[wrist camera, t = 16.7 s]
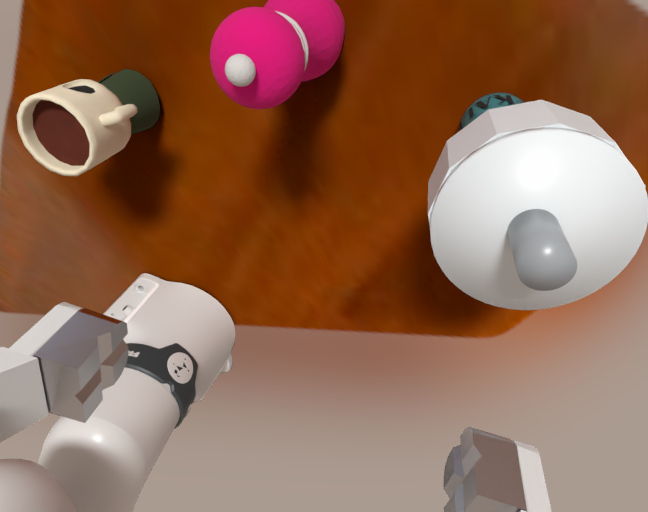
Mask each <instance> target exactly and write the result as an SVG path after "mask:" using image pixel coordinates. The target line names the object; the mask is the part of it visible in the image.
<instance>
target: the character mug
mask: <svg viewBox="0 0 648 512" xmlns="http://www.w3.org/2000/svg"><path fill="white" fill-rule="evenodd" d="M114 73H115V72H114ZM112 74H113V73H112ZM112 74H110V75H108V76H107V77H105V78H103V79H102V80H100V81H99V82H98V83H97V82H95V81H92V80H87V79H80V80H75V81H72V82H68V83H65V84H62V85H59V86H56V87H54V88H51V89H48V90H45V91H42V92H39V93H36V94H34V95H31V96H29V97H27V98H26V99H25V100H24V101H23V102H22V103H21V104H20V107H19V110H18V113H17V123H18V131H19V134H20V136H21V139H22V141H23V144H24V146H25V147H26V149H27V150H28V151H29V152H30V154H31V155H32V156H33V157H34V159H35V160H36V161H38V162H39V163H40V164H42V165H43V166H44V167H46V168H47V169H48V170H50V171H53V172H55V173H58V174H60V175H63V176H78V175H80V174H82V173H84V172H86V171H87V170H89V169H91V168H93V167H94V166H96V165H98V164H99V163H101V162H103V161H104V160H106V159H108V158H109V157H111V156H112V155H114V154H116V153H117V152H119V151H121V150H122V149H123V148H124V147H125V146H126V144H127V143H128V141H129V139H130V137H131V134H135V133H138V132H141V131H144V130H146V129H149V128H151V127H153V125H154V124H155V123H156V122H157V121H158V120H159V114H160V104H159V100H158V95H157V93H156V91H155V89H154V87H153V85H152V84H151V82H150V80H148V79H147V78H146V77H144V76H143V75H142V74H140V73H139V72H137V71H133V70H129V69H124V70H122V71H120V72H118V73H116V74H114V75H112Z"/></svg>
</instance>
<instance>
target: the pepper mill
mask: <svg viewBox="0 0 648 512" xmlns="http://www.w3.org/2000/svg"><path fill="white" fill-rule="evenodd" d="M344 36H345V22H344V18H343V15H342V12H341V10H340V8H339V6H338V5H337V4H336V2H335V1H334V0H269V1H268V2H267V3H266V4H265V6H264V7H263V8H261V7H247V8H244V9H241V10H238V11H236V12H234V13H232V14H231V15H229V16H228V17H227V18H226V19H225V20H223V22H222V23H221V24H220V25H219V27H218V28H217V30H216V32H215V34H214V37H213V40H212V43H211V49H210V62H211V67H212V71H213V74H214V77H215V79H216V81H217V83H218V85H219V86H220V88H221V89H222V90H223V91H224V93H225V94H226V95H227V96H228V97H230V98H231V99H232V100H233V101H235V102H237V103H238V104H240V105H243V106H245V107H249V108H253V109H266V108H271V107H275V106H277V105H279V104H281V103H283V102H284V101H286V100H287V99H289V98H290V97H291V96H292V94H293V93H294V92H295V91H296V90H297V88H298V86H299V85H300V83H301V81H308V80H312V79H315V78H317V77H319V76H321V75H323V74H324V73H326V72H327V71H328V70H329V69H330V68H331V67H332V66H333V65H334V64H335V62H336V60H337V59H338V57H339V54H340V52H341V49H342V45H343V40H344Z"/></svg>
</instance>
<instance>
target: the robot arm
mask: <svg viewBox="0 0 648 512" xmlns="http://www.w3.org/2000/svg"><path fill="white" fill-rule="evenodd" d="M235 338H236V332H235V327H234V323H233V321H232V319H231V317H230V315H229V313H228V312H227V311H226V309H225V308H224V307H223V306H222V305H221V304H220V303H219V302H218V301H217V300H216V299H215V298H213V297H212V296H211V295H209V294H208V293H206V292H204V291H203V290H201V289H198V288H196V287H194V286H191V285H187V284H183V283H177V282H169V281H164V280H162V279H160V278H158V277H156V276H153V275H151V274H147V273H144V274H141V275H140V276H139V277H138V278H137V279H136V280H135V281H134V282H133V283H132V284H131V285H130V286H129V287H128V288H127V290H126V291H125V292H124V293H123V294H122V295H121V296H120V297H119V298H118V299H117V300H116V301H115V302H114V303H113V304H112V305H111V306H110V307H109V308H108V309H107V310H106V311H105V312H104V313H103V314H100V313H97V312H94V311H91V310H88V309H85V308H82V307H79V306H76V305H72V304H69V303H66V302H63V303H60V304H58V305H56V306H55V307H54V308H53V309H52V310H51V311H49V312H48V313H47V314H46V315H45V316H44V317H43V318H42V319H41V320H40V321H39V322H37V324H35V325H34V326H33V327H32V328H31V329H30V330H29V331H28V332H27V333H25V334H24V335H23V336H22V337H21V338H20V339H19V340H18V341H16V342H15V343H14V344H13V345H12V346H11V347H10V348H5V347H1V348H0V442H2V441H4V440H6V439H7V438H9V437H11V436H13V435H14V434H16V433H18V432H20V431H21V430H23V429H25V428H27V427H28V426H30V425H32V424H34V423H36V422H37V421H39V420H41V419H43V418H45V417H46V416H48V415H49V413H52V414H55V415H59V416H61V417H60V418H59V420H58V421H57V422H56V423H55V424H54V426H53V427H52V428H51V430H50V432H49V434H48V435H47V437H46V439H45V442H44V445H43V448H42V451H41V455H40V458H39V460H38V463H35V462H32V461H28V460H23V459H0V512H133V509H134V506H135V504H136V502H137V499H138V497H139V495H140V492H141V490H142V488H143V486H144V483H145V481H146V480H147V478H148V476H149V474H150V472H151V470H152V468H153V466H154V464H155V463H156V461H157V459H158V457H159V455H160V453H161V451H162V450H163V448H164V446H165V444H166V442H167V440H168V439H169V437H170V435H171V433H172V432H173V430H174V429H175V428H176V427H177V426H179V425H180V423H181V422H182V421H183V419H184V418H185V417H186V416H187V414H188V412H189V410H190V408H191V405H192V403H194V402H197V401H201V400H202V399H203V398H204V397H205V395H206V394H207V392H208V391H209V389H210V387H211V386H212V384H213V383H214V381H215V380H216V378H217V377H218V375H219V374H220V373H225V372H228V371H229V370H230V368H231V367H232V364H233V362H232V356H231V351H232V348H233V346H234V343H235ZM444 490H445V492H446V493H447V495H448V496H449V498H450V500H449V502H448V503H447V505H446V506H445V507H444V512H552V510H551V506H550V502H549V496H548V492H547V487H546V483H545V478H544V474H543V469H542V464H541V460H540V455H539V452H538V450H537V449H536V447H533V446H530V445H527V444H524V443H520V442H517V441H514V440H511V439H508V438H505V437H502V436H498V435H495V434H491V433H488V432H484V431H481V430H478V429H474V428H471V427H468V428H466V429H465V430H464V431H463V433H462V435H461V445H459V446H456V447H453V449H452V450H451V452H450V454H449V456H448V459H447V462H446V465H445V471H444Z"/></svg>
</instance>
